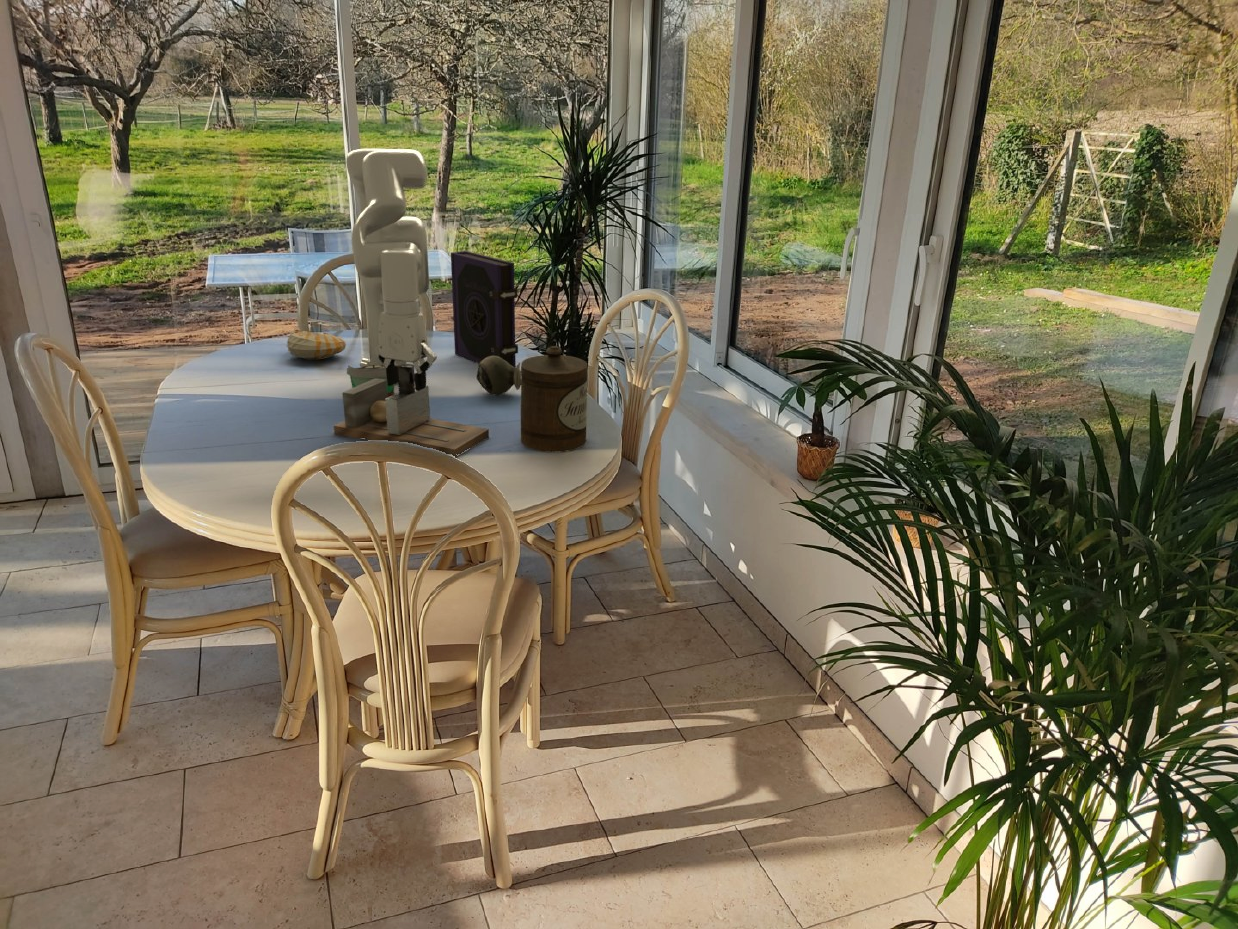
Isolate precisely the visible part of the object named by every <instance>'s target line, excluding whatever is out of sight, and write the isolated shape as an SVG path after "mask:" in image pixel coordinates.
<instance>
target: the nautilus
mask: <svg viewBox="0 0 1238 929" xmlns="http://www.w3.org/2000/svg"><path fill="white" fill-rule="evenodd" d="M287 334H289V335H287V337H288V338H287V342H286V343H287V344H286V347H287V349H288V350H287V351H289V353H290V354H291V355H292V356H294V357H295V358H296V357H297V358H302V359H305V360H310V359H311V360H316V361H317V360H322V359H326V358H330V357H332V356H335V355H337V354H339V353H342V352H343V351H344V350H345V349H346V346H347V343H346V341H345V340H344V339H343V338H341V337H339V336H336V335H333V334H330V333H327V332H311V331H307V330H305V331H304V330H302V331H293V330H289V331H287Z"/></svg>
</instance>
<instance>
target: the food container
mask: <svg viewBox="0 0 1238 929" xmlns="http://www.w3.org/2000/svg"><path fill="white" fill-rule="evenodd" d="M395 365H396V363H395ZM346 374H347V375H348V376H349V378H350V383H351V388H354V387H356V386H358V385H361V384H363V383H366V382H368V381H370V380H373V379H375V378H378V379H384V380H387V376H386V368H384V367H383V365H369V366H365V367H353V366H350V365H349V364H348V366H347V368H346ZM387 393H388V397H390V396H392V395H394V394H395V384H394V385H392V386H388V385H387Z"/></svg>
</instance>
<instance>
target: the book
mask: <svg viewBox="0 0 1238 929" xmlns="http://www.w3.org/2000/svg"><path fill="white" fill-rule="evenodd" d="M450 265H451V266H450V267H451V268H450V269H451V270H450V272H451V292H452V293H451V294H452V314H453V336H454V337H453V339H454V340H453V341H454V342H453V343H454V355H455V356H458V357H460V358H462V359H465V360H467V361H470V362H473V363H475V364H477V362H476V360H477V361H478V362H479V363H480V362H481V361H482V360H484V359H485V358H486V357H489V356H498V357H500V358H502V359H503V360H505V361H507V362H508V363H509V364H510V365H511V366H513V367H515V368H516V367H517V365H516V364H517V363H516V359H517V358H516V354H519V344H516V315H515V314H516V311H515V310H516V308H515V307H516V306H515V300H516V299H517V298H518V289H517V288H516V287H515V263H514V262H511V261H507V260H505V259H499V258H495V257H491V256H488V255H484V254H480V253H476V252H472V251H468V250H466V251H465V250H463V251H456V252H455V251H454V252H450ZM475 359H476V360H475Z"/></svg>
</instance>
